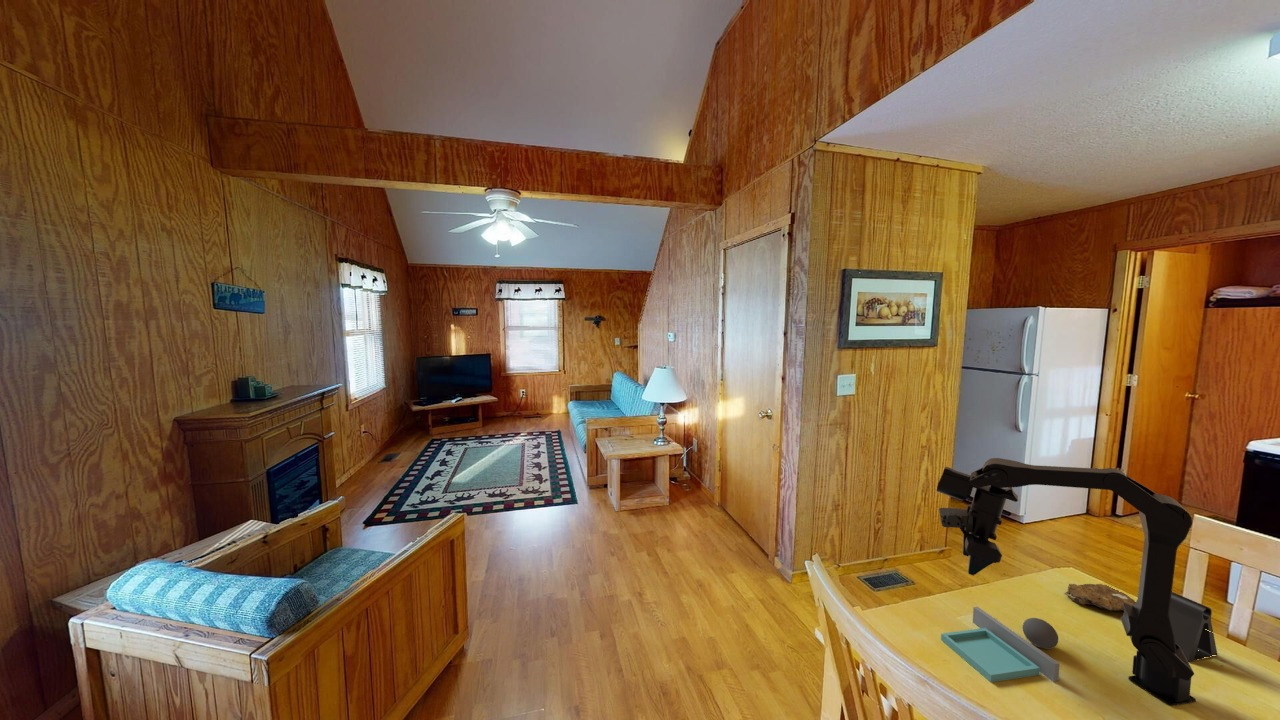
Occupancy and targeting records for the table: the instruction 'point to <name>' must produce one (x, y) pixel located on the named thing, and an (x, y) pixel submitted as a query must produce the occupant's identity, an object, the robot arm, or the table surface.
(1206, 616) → the phone stand
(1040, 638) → the ball
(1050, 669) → the low wall
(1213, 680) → the table surface
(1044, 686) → the table surface
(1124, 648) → the table surface
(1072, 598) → the decorative rock
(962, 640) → the dish
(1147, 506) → the robot arm
